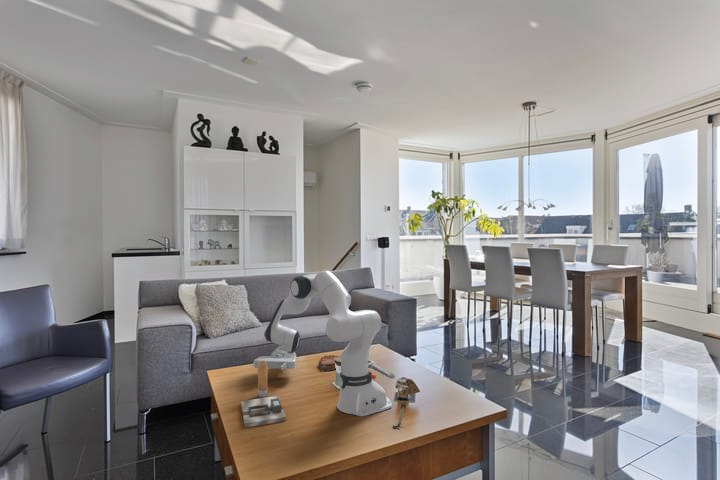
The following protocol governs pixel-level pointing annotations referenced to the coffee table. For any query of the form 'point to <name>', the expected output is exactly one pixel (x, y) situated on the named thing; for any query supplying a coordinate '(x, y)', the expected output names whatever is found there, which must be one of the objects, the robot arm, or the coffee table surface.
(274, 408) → the block
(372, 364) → the adjustable wrench
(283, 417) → the metal mounting plate
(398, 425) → the tactical tomahawk
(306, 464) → the coffee table surface
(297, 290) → the robot arm
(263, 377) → the tan rounded rod
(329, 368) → the pottery shard
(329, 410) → the coffee table surface
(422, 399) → the coffee table surface
